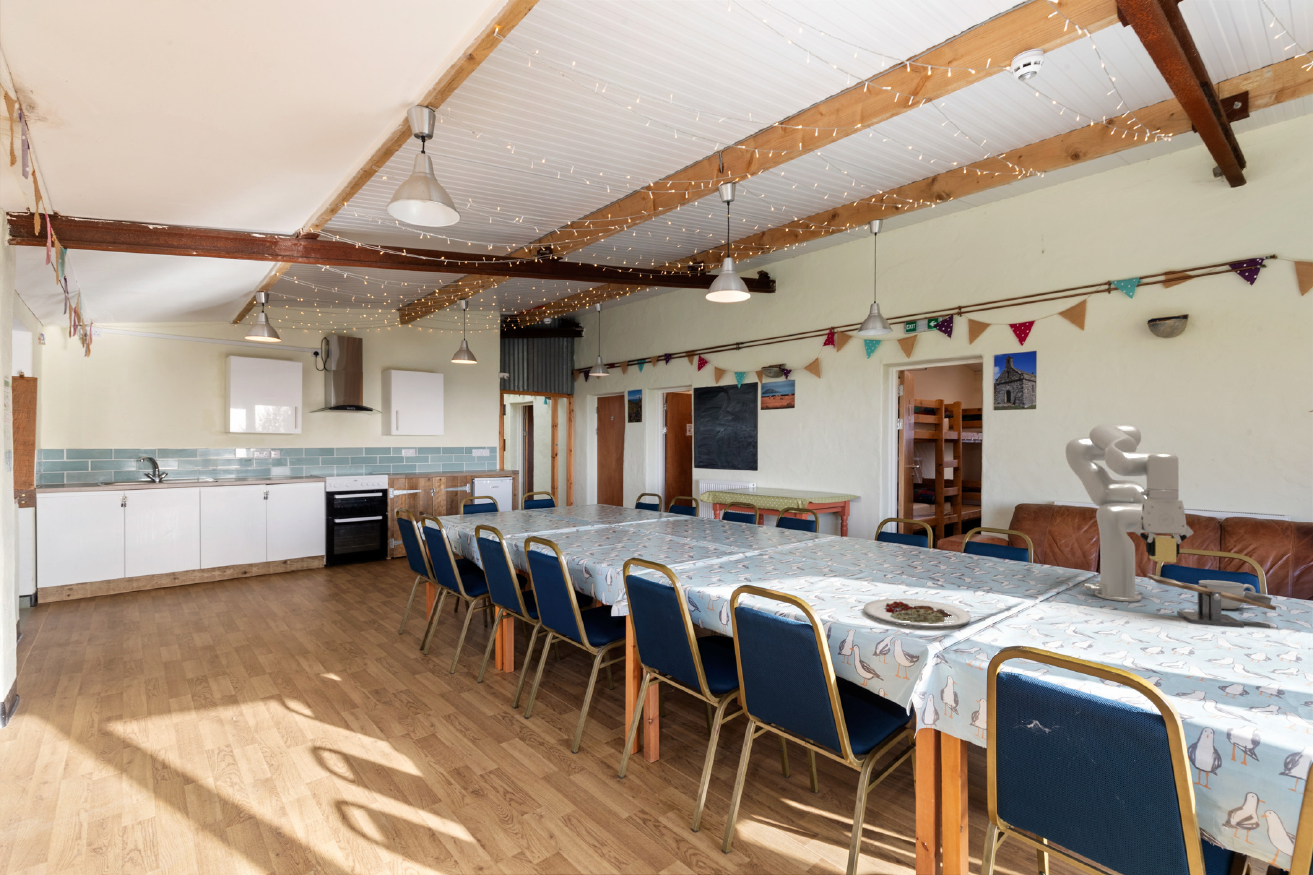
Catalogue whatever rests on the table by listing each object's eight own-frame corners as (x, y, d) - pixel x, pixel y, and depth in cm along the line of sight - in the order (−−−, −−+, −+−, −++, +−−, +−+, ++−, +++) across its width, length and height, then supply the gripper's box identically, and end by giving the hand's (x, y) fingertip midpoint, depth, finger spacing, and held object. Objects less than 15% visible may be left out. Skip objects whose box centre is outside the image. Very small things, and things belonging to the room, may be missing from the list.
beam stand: (1192, 623, 185) (1191, 590, 185) (1176, 614, 195) (1176, 582, 195) (1244, 627, 181) (1244, 594, 181) (1225, 617, 191) (1225, 585, 191)
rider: (1155, 561, 190) (1155, 537, 190) (1149, 558, 195) (1149, 535, 195) (1176, 562, 189) (1176, 538, 189) (1169, 559, 193) (1169, 535, 193)
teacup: (1204, 609, 201) (1204, 583, 201) (1194, 601, 210) (1194, 577, 210) (1263, 614, 194) (1263, 588, 194) (1250, 606, 204) (1250, 581, 204)
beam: (1154, 581, 190) (1157, 572, 189) (1146, 577, 196) (1148, 567, 196) (1275, 610, 180) (1278, 600, 180) (1262, 604, 186) (1264, 594, 186)
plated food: (958, 638, 173) (957, 625, 173) (849, 620, 192) (849, 608, 192) (980, 614, 197) (980, 603, 197) (882, 599, 215) (881, 589, 215)
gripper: (1132, 495, 191) (1132, 556, 191) (1203, 496, 185) (1203, 560, 185) (1124, 493, 198) (1124, 552, 198) (1192, 494, 192) (1192, 555, 192)
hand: (1162, 555), depth 192 cm, fingers closed on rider, 5 cm apart
